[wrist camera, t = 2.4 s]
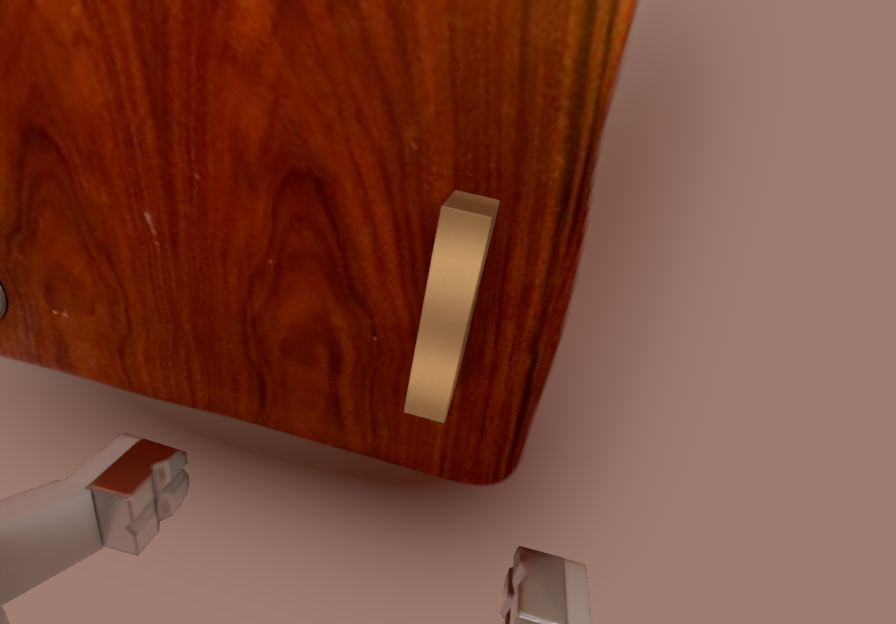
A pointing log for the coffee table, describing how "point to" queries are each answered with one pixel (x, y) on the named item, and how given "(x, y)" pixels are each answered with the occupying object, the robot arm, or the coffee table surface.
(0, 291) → the grey hollow cylinder
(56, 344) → the coffee table surface
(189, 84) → the coffee table surface
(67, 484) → the robot arm
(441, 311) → the tan wooden bar
